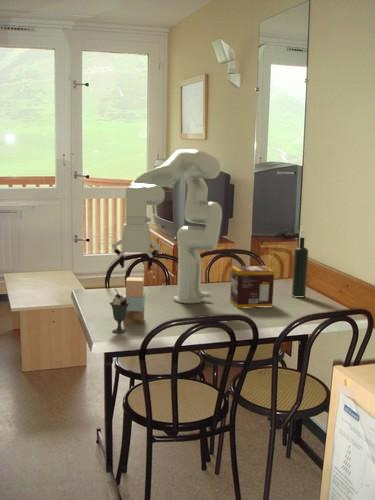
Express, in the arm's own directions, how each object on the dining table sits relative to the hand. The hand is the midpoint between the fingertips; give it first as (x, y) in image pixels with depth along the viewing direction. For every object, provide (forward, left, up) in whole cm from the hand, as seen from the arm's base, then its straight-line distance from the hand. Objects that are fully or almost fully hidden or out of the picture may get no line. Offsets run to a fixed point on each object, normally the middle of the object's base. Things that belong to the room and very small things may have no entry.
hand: (135, 267), depth 217 cm
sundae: (+4, +13, -20) cm, 25 cm away
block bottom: (0, +1, -20) cm, 20 cm away
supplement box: (-46, -30, -20) cm, 58 cm away
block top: (0, +1, -15) cm, 15 cm away
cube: (0, 0, -10) cm, 10 cm away
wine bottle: (-69, -47, -20) cm, 85 cm away
